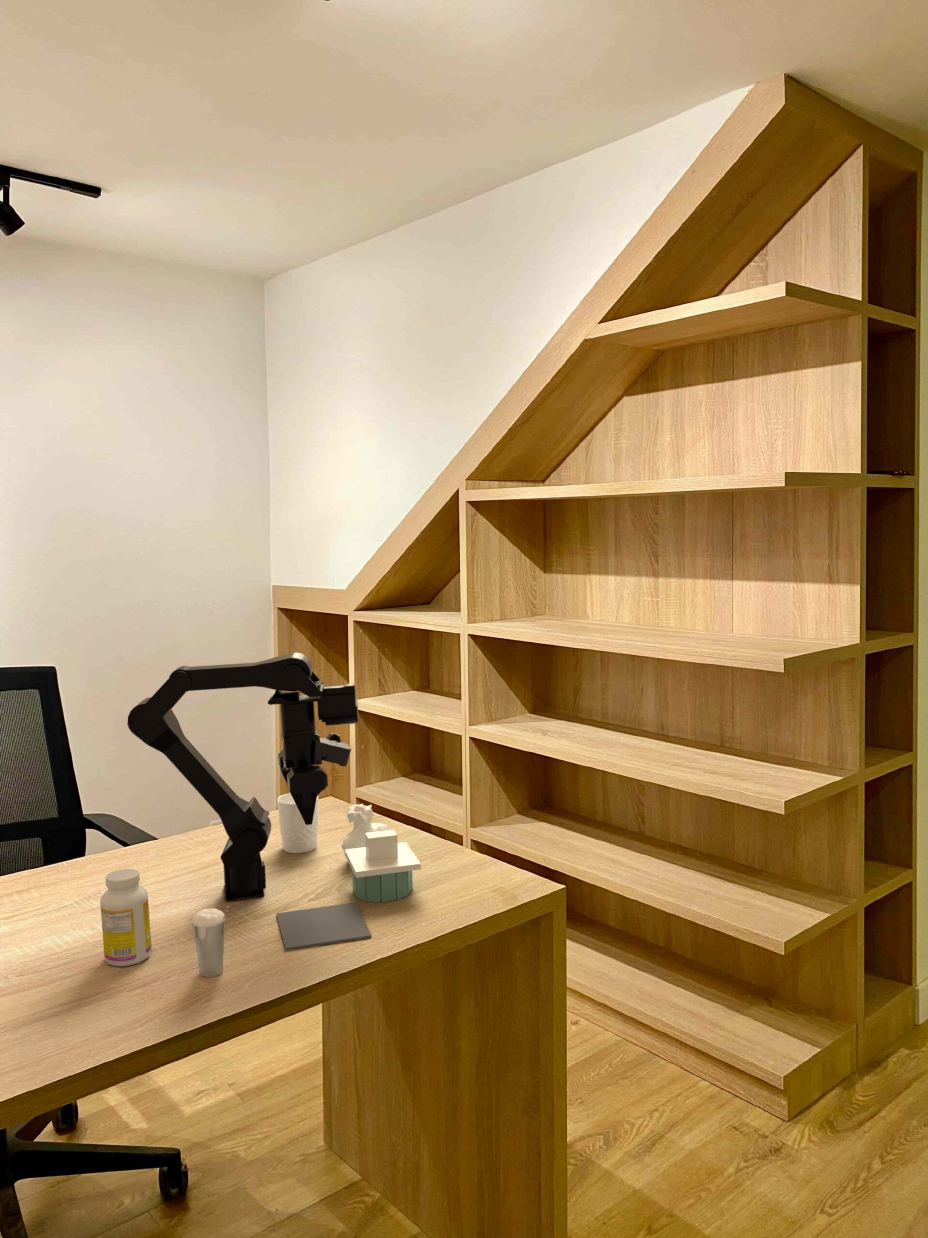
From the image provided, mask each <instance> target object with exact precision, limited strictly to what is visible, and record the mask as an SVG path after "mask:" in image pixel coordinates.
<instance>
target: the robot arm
mask: <svg viewBox="0 0 928 1238" xmlns="http://www.w3.org/2000/svg"><path fill="white" fill-rule="evenodd" d="M250 687H252V688H253V687H256V688H264V689H265V688H266V689H270V690H275V691H274V693H273V694H272V695H271V696H270V697H269V699H268V700H267V704H268V705H269V706H271V705H279V709H280V710H279V711H280V723H281V732H280V738H281V741H282V749H281V750H280V752H279V753H278V754H277V757H278V758H277V760H278V766H279V769H280V771H281V774H282V776H283V778H284V779H283V780H284V781H285V782H286V785H287V787H288V788H287V789H288V791H289V793H291V795H292V797H293V800H294V802H295V804H296V806H297V808H298V810H299V812H300V814H301V816H302V818H303V820H304V822H305V824H306V825H310V824H312V822H313V817H314V811H315V805H316V800H317V796H318V797H319V794H321V792H322V791H325V790H326V788H327V787H328V786H329V781H328V774H327V773H326V771H325V769H323V768H322V767H321V766H320V765H323V761H324V762H327V763H332V764H335V765H336V764H337V765H339V766H340V767H347V765H348V763H349V759H350V756H351V752H352V747H351V746H350V745H349V744H348V743H346V742H345V741H342V739H341V737H340V735H339V734H338V733H334V732H330V733H329V734H328V735H327V736H326V737H321V736H320V734H318V731H317V729H316V728H317V727H316V713H315V702H316V703H317V715H318V716H317V717H318V720H319V721H321V722H322V723H325V726H340V725H341V726H343V725H352V724H353V725H355V724H359V700H358V699H357V693H356V684H355V683H347V684H344V685H343V684H342V685H331V686H330V685H329V686H326V685H325V683H324V682H323V681H322V680H321V679H320V678H319V676H318V675H317V674H316V673H315V671H313V665H312V662H311V660H310V659H309V658H308V657H307V656H306V655H305V654H303V653H301V652H291V653H286V654H282V655H277V656H274V657H272V658H271V657H270V658H268V659H264V660H261V661H257V662H246V663H245V662H243V663H242V662H241V663H228V664H227V663H225V664H214V665H213V664H211V665H197V666H188V665H181V666H179V667H177V668H176V669H175V670H173V671H172V672H171V673H170V675H169V677H168V678H167V680H166V681H165V682H164V683H163V684H162V685H161V686H160V687H159V688H158V689H157V690H156V691H155V693H154V694H153V695H151V696H150V697H146V698H144V699H143V700H141V701H140V702H138V703H137V705H135V706H134V707H133V708H131V710H130V711H129V713H128V716H127V723H126V724H127V727H128V730H129V731H130V732H131V733H132V735H134V736H135V737H136V738H138V739H139V740H141V742H143V744H145V745H147V746H149V747H150V748H152V749H155V750H156V751H158V752H159V753H162V754H163V755H164V756H165V757H166V758H167V759H168V760H169V762H171V764H172V765H173V766H174V767H175V768H176V769H177V770H178V772H180V775H181V774H182V776H183V778H185V779H186V780H187V782H188V783H189V784H190V785H191V786H192V787H193V788H194V790H195V791H196V792H197V793H198V794H199V795H200V796H201V797H202V799H204V801H205V802H206V803H207V804H208V805H209V806H210V807H211V808H212V809H213V810H214V812H215V813H216V814H217V815H218V817H219V818H220V820H221V823H222V826H223V828H224V830H225V832H226V835H227V836H228V839H227V841H226V844H225V846H224V848H223V850H222V853H221V854H220V860H221V862H222V865H223V883H224V884H223V894H224V901H226V902H230V901H236V900H237V901H239V900H243V899H244V900H245V899H252V898H259V897H261V898H262V897H264V896H265V889H266V888H267V882H266V881H267V878H266V865H265V861H264V860H262V857H261V852H262V851H263V850H264V849H265V848H266V846H267V844H268V841H269V838H270V835H271V832H272V821H271V819H270V818H269V815H270V812H269V810H266V809H264V807H262V805H261V803H260V802H259V801H258V799H257V798H256V797H255V796H253V797H252V798H251V799H250V800H249V801H248V800H245V799H243V797H242V798H241V797H240V796H239V795H238V794H237V793H236V792H235V791H234V790H233V789H232V788H231V787H230V785H229V784H228V783H227V782H226V781H225V780H224V779H223V777H221V775H220V774H219V773H218V772H217V771H216V770H215V769H214V767H213V766H212V765H211V764H210V762H208V761H207V759H206V758H205V757H204V756H203V755H202V753H201V752H199V750H198V749H197V748H196V747H195V746H194V745H193V744H192V743H191V741H190V740H189V739H188V738H187V736H186V735H185V733H184V732H183V730H182V726H181V724H180V722H179V720H178V717H176V715H175V713H174V711H173V708H174V707H175V705H176V704H178V702H179V701H180V700H181V699H182V697H183V696H184V695H185V694H186V693H187V692H192V691H194V692H195V691H196V692H197V691H208V690H222V689H224V690H225V689H238V688H250ZM301 694H303V695H301ZM341 741H342V742H341Z"/></svg>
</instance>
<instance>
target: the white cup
mask: <svg viewBox="0 0 928 1238" xmlns="http://www.w3.org/2000/svg"><path fill="white" fill-rule="evenodd" d="M276 803H277V811H278V823H279V830H280V835H281V836H280V837H281V848H282V850H283V851H284V852H285V853H290V854H303V853H309V852H311V851H314V850H315V849H317V847H318V833H319V795H318V796H317V800H316V805H315V811H314V817H313V822H312V824H310V825H306V824H305V822H304V820H303V818H302V816H301V814H300V812H299V810H298V808H297V806H296V804H295V802H294V800H293V797H292V795H291V793H290V792H289V793H286V794H283V795H280V796H279V797H277V802H276Z"/></svg>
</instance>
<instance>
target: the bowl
mask: <svg viewBox="0 0 928 1238" xmlns="http://www.w3.org/2000/svg"><path fill="white" fill-rule="evenodd" d="M351 874H352V892H353V895H354V897H355V898H358V899H360V900H362V901H364V902H373V903H385V902H392V901H398V900H400V899H403V898H405V897H407V896H409V895H410V894H411V892H412V891H413V890H414V885H413V881H414V880H413V870H412V871H404V872H397V873H389V874H382V875H374V876H366V877H359V878H356V876H355V874H354V872H353V870H352V869H351Z"/></svg>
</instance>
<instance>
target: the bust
mask: <svg viewBox="0 0 928 1238" xmlns="http://www.w3.org/2000/svg"><path fill="white" fill-rule="evenodd" d="M372 805H373V804H369V805H364V803H360V804H356V803H353V805H350V806H349V807H348V808H347V813H346V814H347V815H346V818H347V819H348V822H349V824H352V823H353V826H352V827H353V828H352V830H351V831H349V832H347V834H345V836H344V839H343V840H342V843H341V849H342V851H343V852H344V853H345V849H353V848H362V847H366V845H365V833H368V832H376V831H385V830H390V827H389V826H388V825H386V824H384V823H380V822H379V823H378V822H372V823H371V821H372V819H373V817H374V816H375V815H374V814H375V813H374V811H373V809H372V807H373V806H372Z"/></svg>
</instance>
